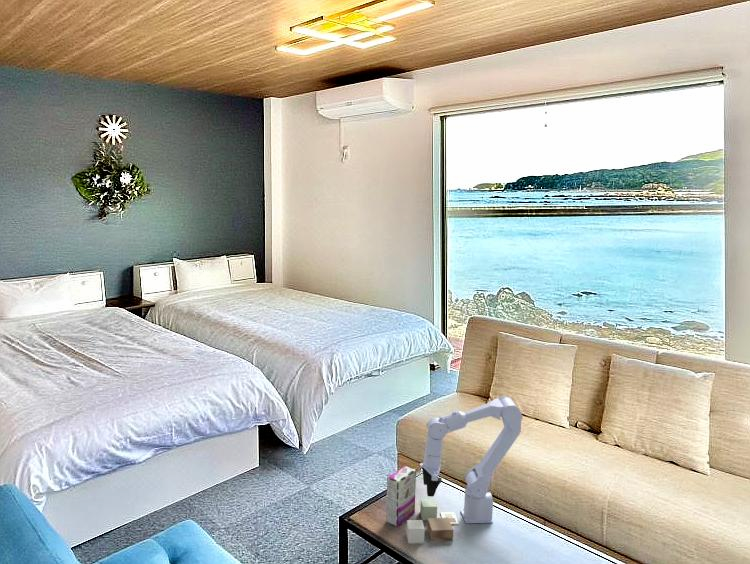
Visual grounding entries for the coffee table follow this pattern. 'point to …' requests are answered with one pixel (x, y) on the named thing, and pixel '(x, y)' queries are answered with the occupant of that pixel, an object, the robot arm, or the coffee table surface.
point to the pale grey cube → (415, 531)
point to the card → (450, 517)
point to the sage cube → (428, 509)
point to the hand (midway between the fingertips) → (428, 490)
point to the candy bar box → (400, 495)
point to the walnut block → (440, 529)
